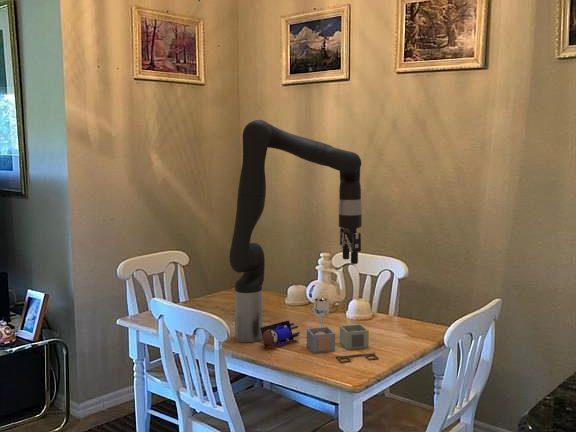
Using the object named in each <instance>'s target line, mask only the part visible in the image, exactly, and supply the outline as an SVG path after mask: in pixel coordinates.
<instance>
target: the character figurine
mask: <svg viewBox="0 0 576 432" xmlns="http://www.w3.org/2000/svg"><path fill="white" fill-rule="evenodd" d="M298 328H299V326H298V325H295V322H292V323H291V322H290V320H286V321H280V322H276V323H274V324H273V323H272V324H269V325H265V326H263V327H261V328H260V329H261V333H262V339H261V340H262V342H263V345H264V348H269V347H273V346H276V345H281V346H282V347H285V345H286V344H287V343H288V342H289V341H290V342H292V341H294V338H297V337H299V334H300V332H299V331H297V332H294V333H293V331H292V330H295V329H298Z"/></svg>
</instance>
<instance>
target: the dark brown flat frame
mask: <svg viewBox="0 0 576 432" xmlns="http://www.w3.org/2000/svg"><path fill="white" fill-rule="evenodd" d="M359 357H361V358H363V357H365V358H366V359H367V361H374V360H375V361H376V360H379V359H380V358H379V356H377V355H376V353H375V352H370V353H360V354H349V355H338V356H335V359H336V360H337V361H339V363H340V364H344V363H345V364H346V363H352V360H351V358H352V359H353V358H359ZM369 357H371V358H369Z"/></svg>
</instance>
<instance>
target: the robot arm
mask: <svg viewBox="0 0 576 432" xmlns="http://www.w3.org/2000/svg"><path fill="white" fill-rule="evenodd" d="M268 148H269V149H276V150H280V151H283V152H286V153H288V154H291V155H293V156H295V157H298V158H299V159H302V160H304V161H307V162H309V163H313V164H316V165H320V166H322V167H323V166H325V167H328V168H331V169H333V170H335V171H339V181H340V182H339V183H340V184H339V195H338V196H339V201H338V227H339V228H340V229H339V245H340V246H341V249H342V259H343V260H349V259H350V263H351V265H357V264H359V252H362V241H361V239H362V238H361V237H362V234H361V233H360V232H358V231H357V229H359V228H362V223H363V222H362V219H363V218H362V215H363V214H362V213H363V212H362V211H363V210H362V209H363V208H362V207H363V206H362V189H361V188H362V187H361V182H360V181H361V167H362V159H361V158H360V155H359V154H358V153H356V152H353V151H349V150H346V149H345V150H344V149H342V148H336V147H334V146H332V145H330V144H327V143H324V142H322V141H318V140H315V139H310V138H307V137H303V136H299V135H296V134H293V133H290V132H287V131H285V130H282V129H280V128H278V127H276V126H274V125H272V124H270V123H268V122H267V121H265V120H262V119H256V120H253V121H250V122H248V123H247V124H246V125H245V127H243V131H242V164H241V170H240V175H239V183H238V189H237V199H236V212H235V222H234V229H233V234H232V239H231V244H230V249H229V265H230V268H231V269H232V270H233V271H234V272H236V273H239V274H240V273H242V274H241V275H242V276H241V277H239V279H238V280H236V281H235V283H234V295H235V297H234V298H235V299H234V300H235V301H234V302H235V310H234V337H235V340H236V342H238V343H240V342H241V343H253V342H254V343H255V342H258V341H259V342H260V341H261V340H263V339H262V333H261V329H260V328H261V327H264V326H263V325H264V324H263V283H264V281H265V264H266V263H265V261H266V260H265V259H266V258H265V254H264V250H263V248H262V246H261V245H260V244H258V243H256V242H251V237H252V234H253V231H254V229H255V227H256V226H257V224H258V221H259V220H260V218H261V216H262V214H263V212H264V208H265V206H266V204H265V202H266V196H267V195H266V194H267V185H266V184H267V182H266V172H265V169H266V167H265V165H266V159H267V157H266V156H267V153H268Z"/></svg>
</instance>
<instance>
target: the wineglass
mask: <svg viewBox="0 0 576 432" xmlns="http://www.w3.org/2000/svg"><path fill="white" fill-rule="evenodd" d="M312 305H313V306H312V310H313V314H314V315H315V316H316V317H318V318H319V323H320V327H323V318H325V317H327V316H328V315H329V313H330V304H329V299H327V298H324V297H317V298H315V299H314V301H313V304H312Z"/></svg>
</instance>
